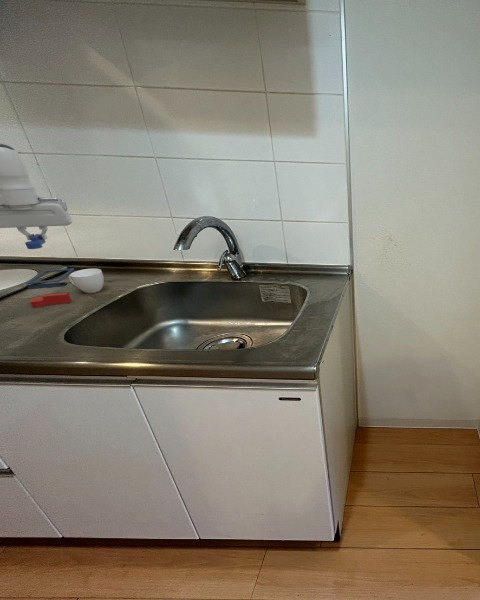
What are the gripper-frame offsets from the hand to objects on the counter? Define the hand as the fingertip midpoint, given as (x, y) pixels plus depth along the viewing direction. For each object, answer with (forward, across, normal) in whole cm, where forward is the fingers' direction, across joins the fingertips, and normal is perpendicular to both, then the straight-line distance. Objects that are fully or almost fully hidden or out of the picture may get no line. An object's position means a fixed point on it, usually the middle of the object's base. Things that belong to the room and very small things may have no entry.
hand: (37, 239), depth 106 cm
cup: (+15, -12, +15) cm, 25 cm away
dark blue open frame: (+15, 0, +2) cm, 15 cm away
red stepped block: (+15, -5, +23) cm, 28 cm away
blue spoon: (+2, 0, +2) cm, 2 cm away
